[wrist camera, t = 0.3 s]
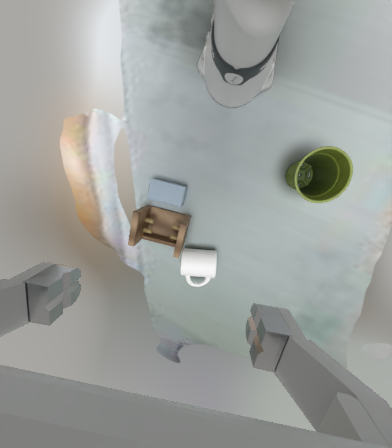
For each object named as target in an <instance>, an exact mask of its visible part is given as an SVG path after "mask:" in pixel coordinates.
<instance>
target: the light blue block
mask: <svg viewBox="0 0 392 448" xmlns="http://www.w3.org/2000/svg"><path fill="white" fill-rule="evenodd" d="M186 191H187V186H183V185H179V184H176V183H172V182H168V181H164V180H160V179H156V178H154V179H151V180H150V186H149V192H148V198H147V199H150V200H154V201H158V202H162V203H166V204H170V205H174V206H178V207H182V206H183V204H184V199H185V195H186Z"/></svg>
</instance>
